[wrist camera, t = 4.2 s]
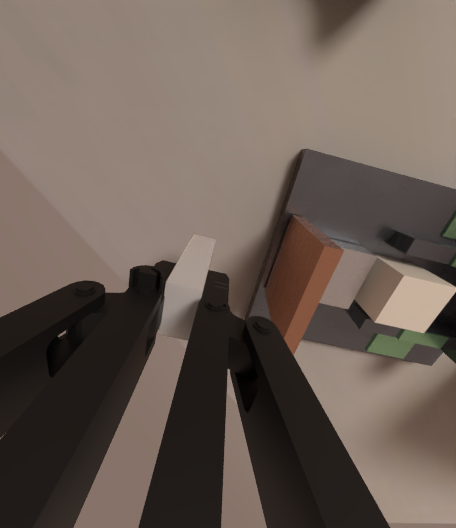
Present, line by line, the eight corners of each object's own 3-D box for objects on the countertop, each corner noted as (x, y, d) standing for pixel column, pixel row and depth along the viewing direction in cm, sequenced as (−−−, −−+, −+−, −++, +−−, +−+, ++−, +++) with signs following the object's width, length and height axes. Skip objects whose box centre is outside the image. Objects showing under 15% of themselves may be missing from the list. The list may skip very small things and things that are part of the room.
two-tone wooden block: (264, 290, 20) (278, 351, 14) (291, 214, 17) (325, 245, 11) (332, 306, 21) (377, 371, 14) (370, 233, 18) (446, 275, 11)
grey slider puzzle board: (245, 319, 23) (249, 381, 17) (301, 149, 17) (344, 142, 10) (422, 356, 25) (490, 427, 18) (538, 214, 18) (709, 243, 12)
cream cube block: (349, 293, 20) (374, 322, 17) (371, 253, 19) (404, 275, 15) (390, 302, 21) (423, 333, 17) (415, 263, 19) (458, 288, 15)
